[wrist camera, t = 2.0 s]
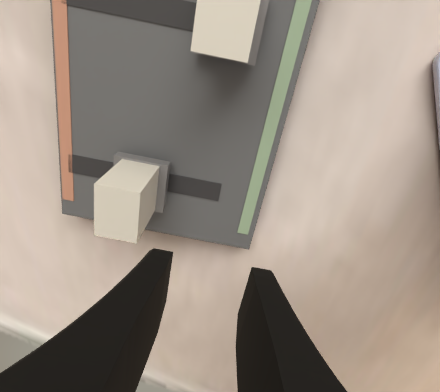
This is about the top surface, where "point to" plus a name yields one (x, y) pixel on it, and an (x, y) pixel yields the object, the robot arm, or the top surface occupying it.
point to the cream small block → (229, 29)
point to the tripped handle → (129, 196)
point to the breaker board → (173, 108)
